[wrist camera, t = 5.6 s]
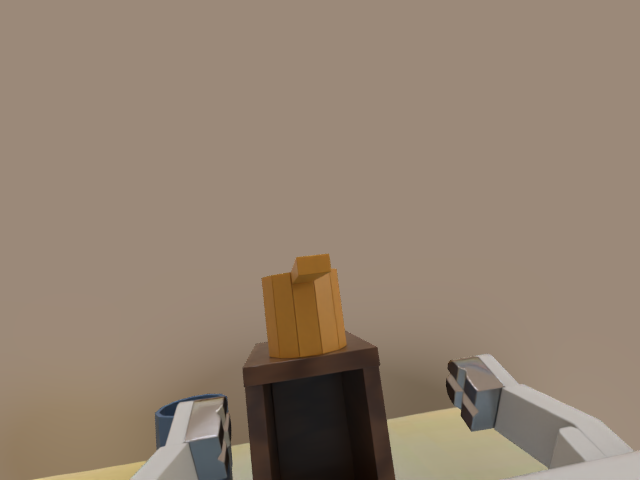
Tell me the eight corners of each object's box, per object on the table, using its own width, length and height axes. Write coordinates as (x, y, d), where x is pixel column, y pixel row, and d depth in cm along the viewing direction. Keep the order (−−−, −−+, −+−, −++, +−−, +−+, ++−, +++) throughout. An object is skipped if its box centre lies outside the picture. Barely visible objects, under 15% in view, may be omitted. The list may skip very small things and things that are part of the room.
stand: (266, 651, 23) (242, 367, 26) (272, 520, 37) (255, 343, 40) (416, 611, 25) (377, 346, 28) (368, 499, 38) (345, 330, 41)
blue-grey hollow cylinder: (151, 589, 30) (144, 422, 32) (176, 535, 37) (169, 400, 39) (232, 571, 31) (219, 409, 33) (241, 521, 37) (230, 390, 40)
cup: (396, 381, 17) (375, 248, 18) (259, 404, 16) (246, 262, 17) (338, 339, 35) (329, 272, 36) (271, 349, 34) (264, 280, 35)
